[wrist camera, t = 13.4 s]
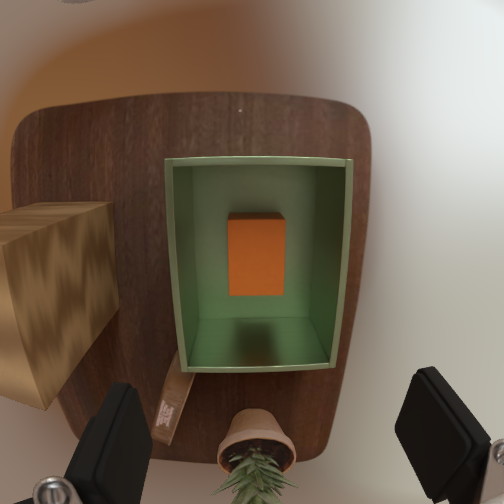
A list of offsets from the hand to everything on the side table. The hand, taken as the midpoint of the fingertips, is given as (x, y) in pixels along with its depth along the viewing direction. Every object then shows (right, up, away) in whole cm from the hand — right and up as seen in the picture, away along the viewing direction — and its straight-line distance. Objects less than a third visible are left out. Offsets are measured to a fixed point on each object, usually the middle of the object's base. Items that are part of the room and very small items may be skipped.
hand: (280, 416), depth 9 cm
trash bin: (-1, +6, +23) cm, 24 cm away
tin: (-10, -9, +27) cm, 30 cm away
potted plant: (-1, -18, +30) cm, 35 cm away
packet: (-1, +6, +23) cm, 23 cm away
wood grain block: (-21, +5, +23) cm, 31 cm away
